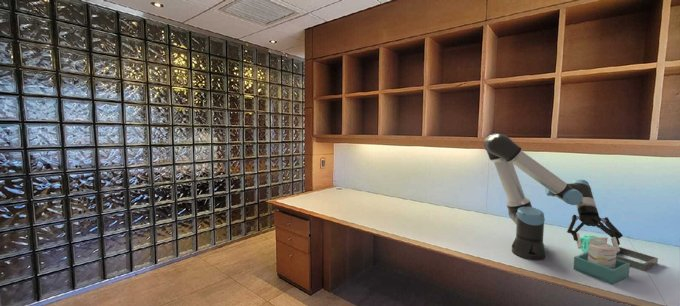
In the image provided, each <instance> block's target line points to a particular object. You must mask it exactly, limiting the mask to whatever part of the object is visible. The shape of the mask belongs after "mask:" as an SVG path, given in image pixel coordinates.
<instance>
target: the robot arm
mask: <svg viewBox="0 0 680 306" xmlns="http://www.w3.org/2000/svg"><path fill="white" fill-rule="evenodd" d="M483 148H484V150H485V151H486V153H487V156H488V158H489V160H490V161H492V162H493V163H494V166H495V169H496V171H497V174H498V177H499V180H500V182H501V185H502V189H503V190H504V194H505V196H506V199H507V202H506V207H507V209H508V216H509V217H510V219H511V220H512V221H513V223H514V224H515V226H516V229H515V238H514V241H513V243H512V245H511V252H512V253H513V254H515V255H516V256H518V257H521V258H523V259H527V260H535V261H541V260H545V259H546V258H547V256H548V255H547V250H546V246H545V244H544V233H545V232H544V231H545V221H546V220H545V213H544V211H542V210H541V209H539V208H536V207H533V205H532V203H531V201H530V199H529V198H527V197H526V196H525V192H524V190H523V188H522V185H521V182H520V180H519V176H518V174H517V172H516V169H515V167H516V168H518V169H519V170H521V171H522V172H524V173H525V174H526V175H527V176H529V177H531V179H533V180H535V181H536V182H537V183H539V184H540V185H541V186H542V187H544V191H545V194H546V196H548V197H557V198H558V199H559V200H562V201H563V202H564V203H566V204H568V205H570V206H575V207H576V208H577V209H576V210H577V214H578V215H577V214H573V215H572V216H571V222H570V224H569V226H568V229H567V231H566V232H567V233H568V234H571V236H572V237H573V241H575V242H576V245H577V249H580V248H581V247H582V244H581V240H580V238H581V237H580V233H579V231H580V230H581V229H582V228H583V227H584V226H587V227H594V228H595V227H597V228H598V229H600V230H601V231H603V232H604V233H606V235H608V236H610V237H611V239H610V240H611V243H612V246H614V247H616V248H617V253H618V252H619V251H620V249H619V247H620V245H621V242H620V239H621V238H622V237H623V235H624V234H622V232H620V230H619V229H617V227H616V226H614V224H613V223H612V222H611V221H610V219H609V218H608V217H604V218H603V217H600V215H599V210H598V208H597V205H596V201H595V199H594V196H593V191H592V188H591V186H590V184H589V182H588V181H587V180H585V179H574V180H573V181H571V182H570V183H567V182H565V181H564V180H563V179H561V178H560V177H559V176H557V175H556V174H555V173H553V172H552V171H550V170H549V169H547V168H546V167H545V166H544V165H542V164H541V163H539V162H538V161H536V160H535V159H533V158H532V157H531V156H529V155H528V154H527V153H525V152H524V151H523V148H522V147H521V146H519V145H518V144H517V143H515V141H513V140H512V139H511V138H510V137H509V136H507V135H505V134H501V133H493V134H490V135H487V137H485V139H484V141H483ZM578 220H579V221H580V222H581V223H580V224H578V225H577V227H576V228H575V229H574V230H573V228H574V226H575V224H576V222H577V221H578Z"/></svg>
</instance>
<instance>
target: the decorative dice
mask: <svg viewBox="0 0 680 306" xmlns="http://www.w3.org/2000/svg"><path fill="white" fill-rule="evenodd" d="M590 238H601V237H600V236H597V235H592V234H584V235H581V237H580V240H581V244H582V247H581V248H579V249H580V250H581V251H582V252H583V253H586V252H588V251H589V243H590ZM596 241H602V240H599V239H598V240H596Z"/></svg>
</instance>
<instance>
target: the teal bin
mask: <svg viewBox="0 0 680 306" xmlns="http://www.w3.org/2000/svg"><path fill="white" fill-rule="evenodd" d="M573 270H575V271H577V272H579V273H583V274H586V275H587V276H589V277H593V278H595V279H598V280H601V281H603V282H606V283H608V284H610V285H615V284H617V283H619V282H621V281H623V280H625V279H626V278H629V277H630V275H629V274H630V270H631V269H630V263H627V262H624V261H621V260H618V259H616V263H615V269H613V270H612V269H609V268H606V267H604V266H601V265H598V264H595V263H592V262H589V261H588V252H586V253H584V252H583V253H580V254H579V255H575V256H574V258H573Z"/></svg>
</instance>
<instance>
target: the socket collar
mask: <svg viewBox="0 0 680 306" xmlns="http://www.w3.org/2000/svg"><path fill="white" fill-rule="evenodd" d="M619 249H620V251H619V252H618V253H616V254H617V255H616V259H618V260H621V261H624V262H627V263H630V267H631V268H633V269H637V270H640V271H642V272H646V271H647V270H649V269H651V268H653V267H655V266H657V265H658V262H659V258H658V257H655V256H652V255H648V254H645V253H642V252H639V251H635V250H632V249H627V248H626V247H625V248H624V247H622V246H619ZM618 254H621V255H623V256H620V255H618ZM624 255H625V256H628V257H630V258H634V259H638V260H641V261H644V263H642V262H638V261H636V260H633V259H630V258H626V257H624Z"/></svg>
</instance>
